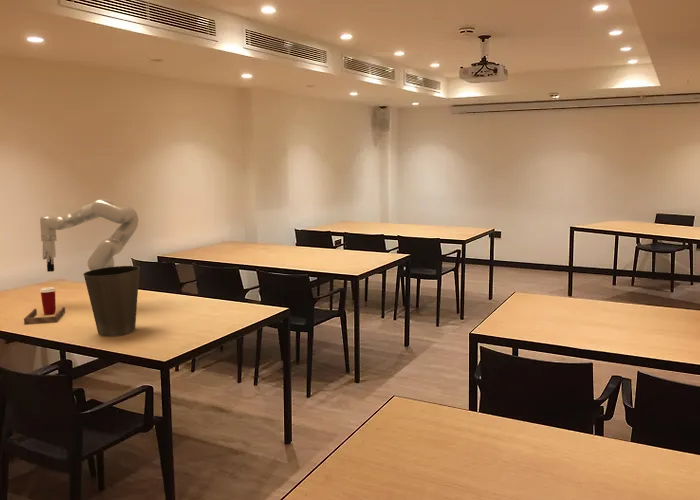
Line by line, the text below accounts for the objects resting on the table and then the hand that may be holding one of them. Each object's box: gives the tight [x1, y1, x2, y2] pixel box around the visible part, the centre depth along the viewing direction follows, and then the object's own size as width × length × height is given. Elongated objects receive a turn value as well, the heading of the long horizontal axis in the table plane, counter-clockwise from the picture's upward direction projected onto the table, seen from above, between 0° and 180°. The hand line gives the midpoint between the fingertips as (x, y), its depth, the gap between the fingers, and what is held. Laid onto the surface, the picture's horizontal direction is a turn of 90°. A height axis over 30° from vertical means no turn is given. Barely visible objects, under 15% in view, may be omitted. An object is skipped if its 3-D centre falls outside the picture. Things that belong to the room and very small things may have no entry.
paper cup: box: [39, 286, 57, 316], centre depth 322 cm, size 8×8×14 cm
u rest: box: [23, 306, 66, 325], centre depth 314 cm, size 15×21×3 cm
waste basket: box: [83, 265, 141, 337], centre depth 286 cm, size 27×20×30 cm
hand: (50, 271), depth 331 cm, fingers closed
